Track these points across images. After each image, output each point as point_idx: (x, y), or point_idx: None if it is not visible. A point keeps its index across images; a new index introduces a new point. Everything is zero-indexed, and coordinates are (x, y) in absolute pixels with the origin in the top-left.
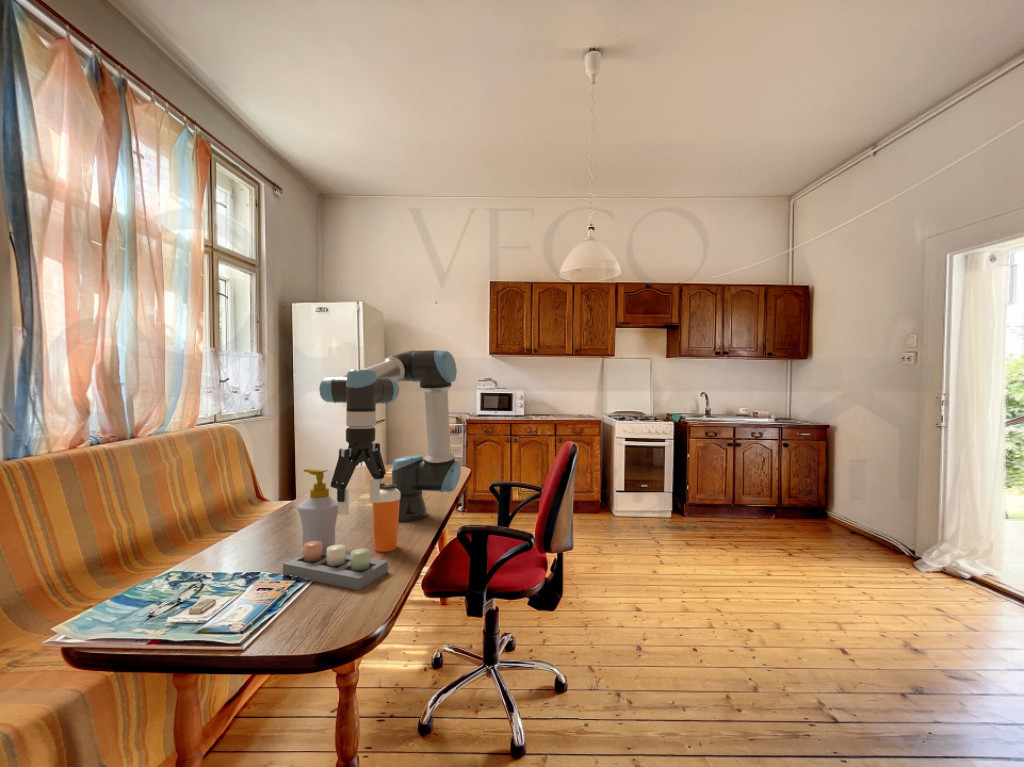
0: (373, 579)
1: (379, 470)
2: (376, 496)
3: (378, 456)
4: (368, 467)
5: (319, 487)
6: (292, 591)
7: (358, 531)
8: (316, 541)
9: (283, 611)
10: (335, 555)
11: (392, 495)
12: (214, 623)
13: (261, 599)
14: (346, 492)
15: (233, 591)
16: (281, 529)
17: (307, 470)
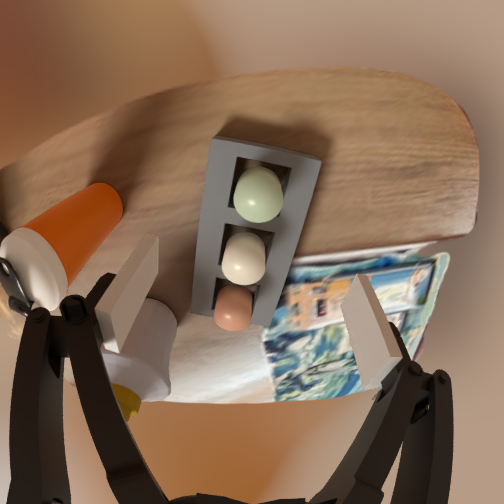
0: (269, 145)
1: (69, 355)
2: (147, 259)
3: (39, 453)
4: (126, 423)
5: (124, 411)
6: (328, 269)
7: (69, 288)
8: (217, 318)
9: (392, 245)
10: (263, 253)
11: (29, 247)
12: (409, 301)
13: None
14: (397, 345)
15: (329, 335)
16: None
17: None
